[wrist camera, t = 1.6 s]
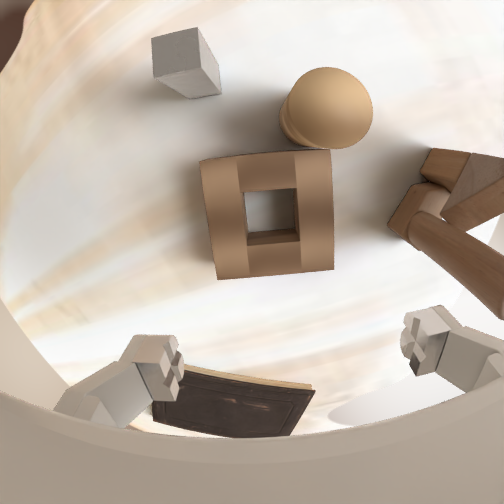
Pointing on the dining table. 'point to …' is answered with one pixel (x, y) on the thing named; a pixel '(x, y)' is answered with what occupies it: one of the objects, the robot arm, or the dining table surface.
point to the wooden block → (457, 219)
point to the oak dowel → (326, 110)
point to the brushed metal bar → (186, 63)
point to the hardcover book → (234, 405)
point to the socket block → (276, 241)
